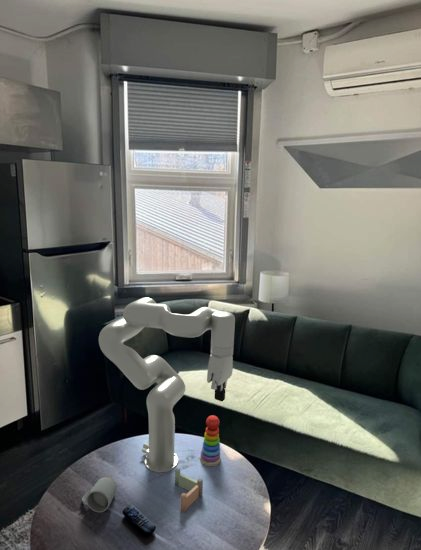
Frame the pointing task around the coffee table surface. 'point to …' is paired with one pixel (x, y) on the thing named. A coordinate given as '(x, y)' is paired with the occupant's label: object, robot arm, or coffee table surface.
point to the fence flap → (191, 495)
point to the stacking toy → (211, 443)
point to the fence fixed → (184, 480)
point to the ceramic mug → (100, 495)
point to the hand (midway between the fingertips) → (219, 399)
